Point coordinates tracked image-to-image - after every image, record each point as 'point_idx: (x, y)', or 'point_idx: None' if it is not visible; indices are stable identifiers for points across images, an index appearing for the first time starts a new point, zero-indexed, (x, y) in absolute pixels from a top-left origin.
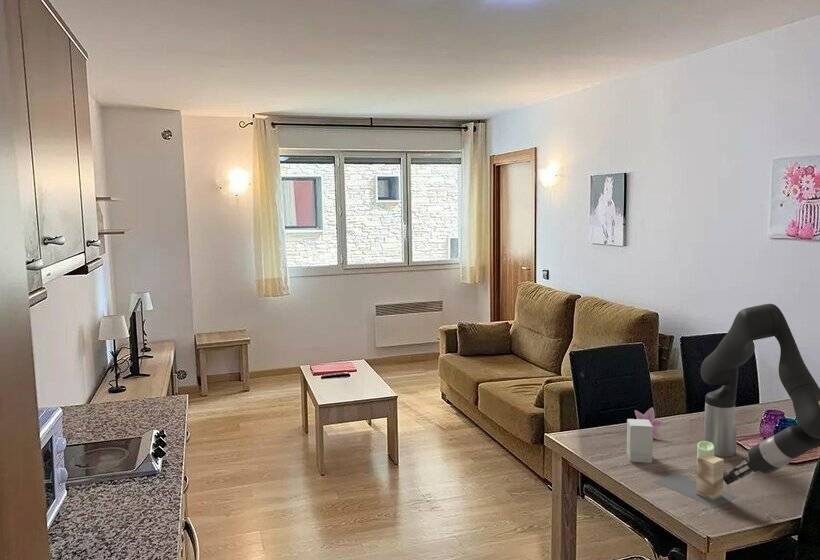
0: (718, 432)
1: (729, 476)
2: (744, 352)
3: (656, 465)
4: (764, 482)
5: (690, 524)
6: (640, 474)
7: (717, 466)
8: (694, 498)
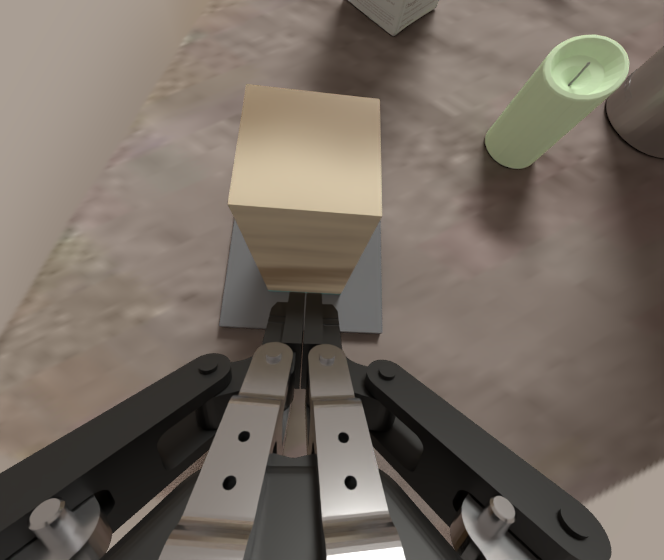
0: None
1: (265, 340)
2: None
3: (389, 52)
4: (598, 326)
5: (14, 332)
6: (286, 49)
7: (290, 227)
8: (237, 237)
